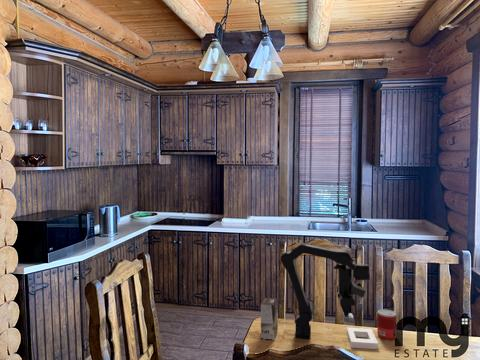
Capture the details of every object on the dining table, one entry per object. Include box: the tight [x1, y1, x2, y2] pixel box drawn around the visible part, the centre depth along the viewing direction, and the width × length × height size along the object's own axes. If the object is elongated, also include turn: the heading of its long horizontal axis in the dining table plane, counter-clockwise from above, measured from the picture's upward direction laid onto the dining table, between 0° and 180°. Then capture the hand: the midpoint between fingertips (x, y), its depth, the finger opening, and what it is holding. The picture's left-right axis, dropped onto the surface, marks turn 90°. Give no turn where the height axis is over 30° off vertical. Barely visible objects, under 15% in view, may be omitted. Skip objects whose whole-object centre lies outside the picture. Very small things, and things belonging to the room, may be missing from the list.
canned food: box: [376, 308, 397, 341], centre depth 160 cm, size 8×8×11 cm
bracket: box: [342, 311, 355, 322], centre depth 155 cm, size 4×5×7 cm
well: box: [346, 327, 379, 350], centre depth 156 cm, size 11×14×2 cm
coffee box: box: [260, 297, 279, 341], centre depth 162 cm, size 9×6×16 cm
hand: (345, 314), depth 155 cm, fingers closed on bracket, 5 cm apart
